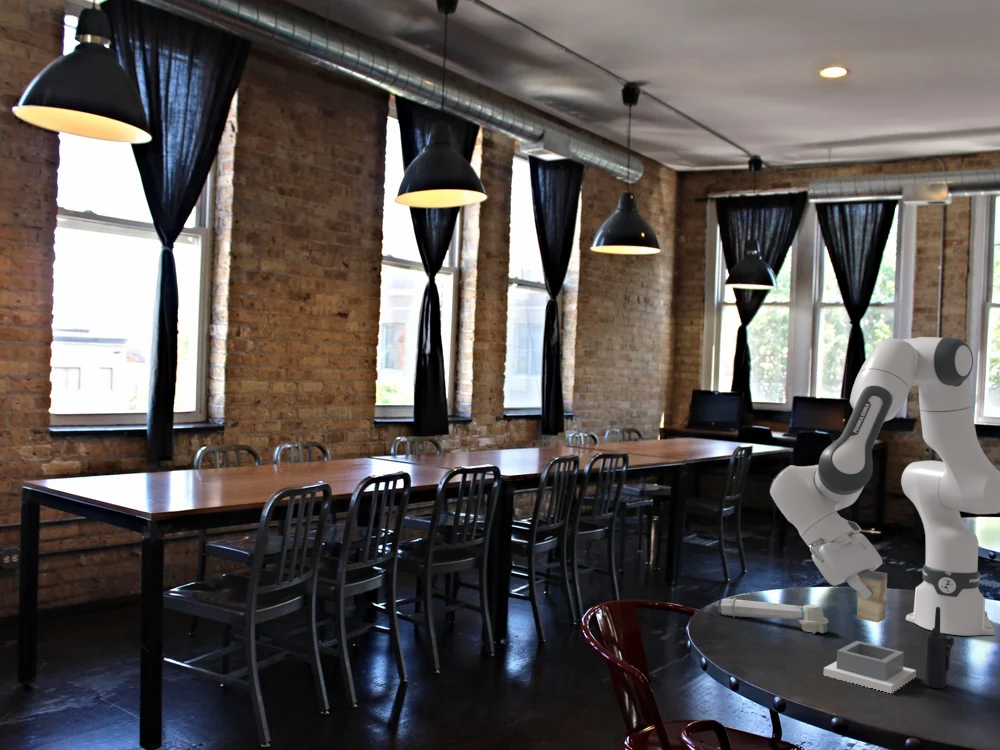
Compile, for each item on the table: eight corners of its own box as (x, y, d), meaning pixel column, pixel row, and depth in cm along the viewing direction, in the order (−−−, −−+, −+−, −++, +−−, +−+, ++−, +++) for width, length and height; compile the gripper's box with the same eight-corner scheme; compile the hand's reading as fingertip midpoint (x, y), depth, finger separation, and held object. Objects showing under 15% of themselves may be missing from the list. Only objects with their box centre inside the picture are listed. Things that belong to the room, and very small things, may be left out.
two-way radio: (928, 679, 174) (931, 603, 173) (954, 684, 171) (956, 607, 171) (923, 687, 169) (926, 609, 169) (949, 693, 167) (952, 614, 166)
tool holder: (850, 660, 184) (851, 636, 183) (915, 677, 175) (916, 652, 174) (823, 675, 174) (824, 650, 174) (890, 694, 165) (891, 667, 165)
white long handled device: (724, 595, 218) (828, 599, 204) (726, 623, 218) (831, 629, 204) (716, 600, 214) (822, 604, 200) (719, 628, 214) (825, 634, 200)
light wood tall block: (865, 614, 177) (866, 569, 177) (885, 618, 174) (887, 573, 174) (857, 617, 174) (858, 572, 174) (877, 622, 171) (879, 576, 171)
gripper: (817, 533, 171) (866, 594, 165) (860, 522, 186) (906, 577, 179) (794, 552, 174) (841, 612, 168) (838, 539, 189) (883, 594, 182)
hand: (875, 594), depth 174 cm, fingers closed on light wood tall block, 4 cm apart
